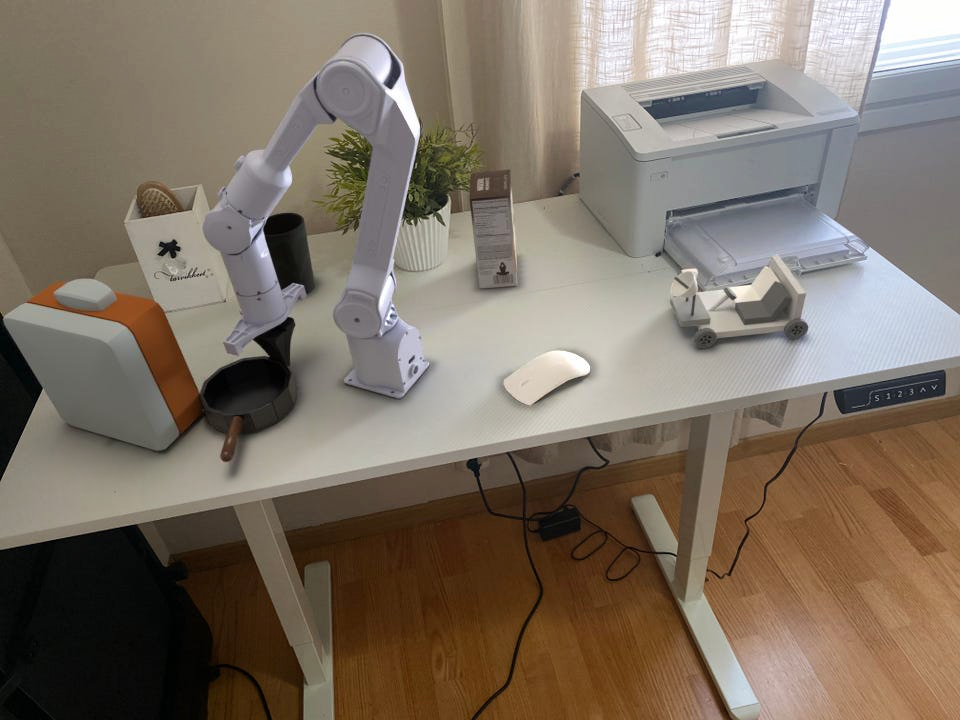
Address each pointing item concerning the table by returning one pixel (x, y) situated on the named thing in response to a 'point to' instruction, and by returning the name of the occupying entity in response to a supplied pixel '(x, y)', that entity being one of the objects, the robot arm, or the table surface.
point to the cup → (289, 250)
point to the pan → (247, 398)
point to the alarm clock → (107, 362)
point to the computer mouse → (544, 375)
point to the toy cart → (741, 305)
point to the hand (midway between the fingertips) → (282, 365)
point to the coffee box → (493, 228)
